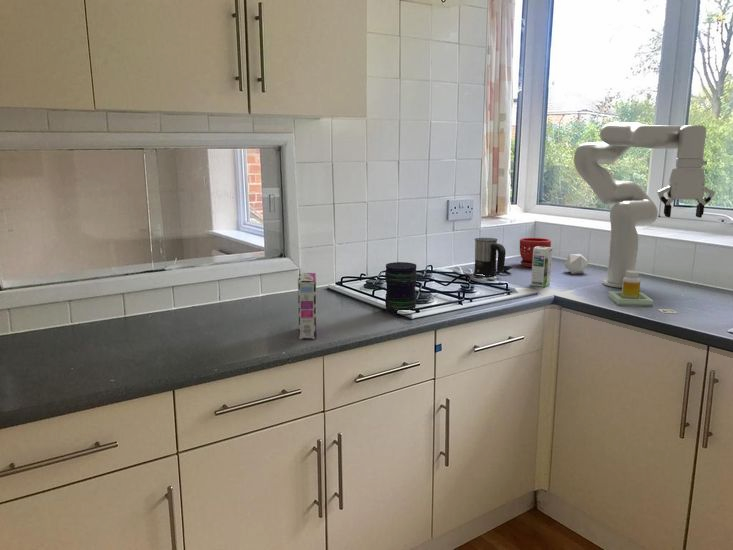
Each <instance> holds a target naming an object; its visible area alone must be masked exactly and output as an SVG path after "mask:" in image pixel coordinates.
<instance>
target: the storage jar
mask: <svg viewBox="0 0 733 550" xmlns="http://www.w3.org/2000/svg"><path fill="white" fill-rule="evenodd" d="M384 277H385V283H386V284H385V285H386V291H385V292H386V293H385V299H384V300H385V313H387V314H390V315H392V314H393V316H397V315H396V314H397V311H398V310H409V309H413V308H415V309H416V307H417V300H416V299H417V295H416V283H417V278H418V276H417V264H416V263H413V262H408V261H407V262H404V261H403V262H402V261H399V262H394V261H393V262H389V263H386V264H385V275H384Z"/></svg>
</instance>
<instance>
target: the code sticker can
mask: <svg viewBox="0 0 733 550" xmlns="http://www.w3.org/2000/svg"><path fill="white" fill-rule="evenodd" d="M657 310H658V311H659V312H661V314H677V311H676V310H674V309H669V308H668V309H667V308H657Z"/></svg>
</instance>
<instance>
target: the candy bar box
mask: <svg viewBox="0 0 733 550" xmlns="http://www.w3.org/2000/svg"><path fill="white" fill-rule="evenodd" d="M316 275H317V274H316V272H302V273H301V272H300V273H298V280H297V286H298V287H297V289H298V290H297V291H298V292H297V293H298V295H297V296H298V297H297V298H298V340H301V341H302V340H307V341H308V340H309V341H310V340H317V330H318V329H317V328H318V327H317V326H318V323H317V322H318V319H317V317H318V316H317V315H318V310H317V309H318V308H317V307H318V305H317V303H318V300H317V276H316Z"/></svg>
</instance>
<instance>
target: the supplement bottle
mask: <svg viewBox="0 0 733 550" xmlns="http://www.w3.org/2000/svg"><path fill="white" fill-rule="evenodd" d="M639 275H640V272H639V271H638V270H635V271H632V270H628V271H626V277H624V278H623V284H622V288H621V292H622V295H621V298H625V299H639V292H641V291H640V289H641V279H640V278H639V277H640V276H639Z"/></svg>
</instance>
